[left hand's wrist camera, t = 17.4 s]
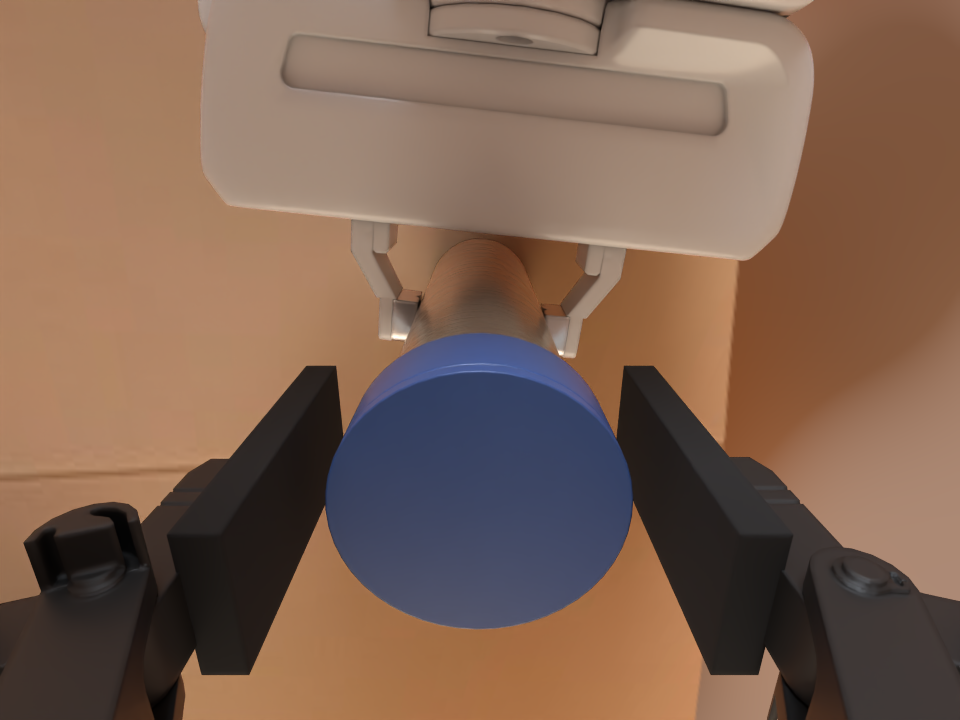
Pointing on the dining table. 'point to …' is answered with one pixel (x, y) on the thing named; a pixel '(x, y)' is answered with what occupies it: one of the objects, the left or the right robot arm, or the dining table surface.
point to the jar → (479, 298)
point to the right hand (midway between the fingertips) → (478, 345)
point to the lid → (479, 484)
